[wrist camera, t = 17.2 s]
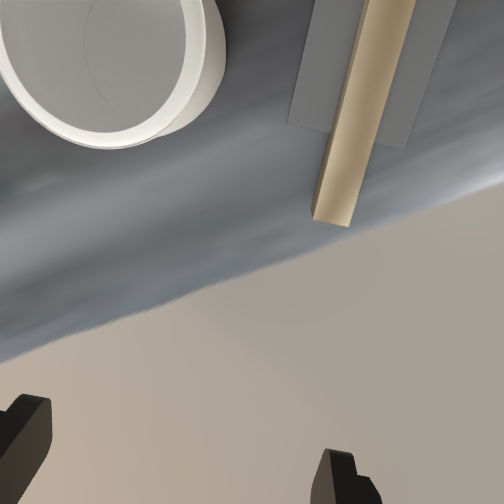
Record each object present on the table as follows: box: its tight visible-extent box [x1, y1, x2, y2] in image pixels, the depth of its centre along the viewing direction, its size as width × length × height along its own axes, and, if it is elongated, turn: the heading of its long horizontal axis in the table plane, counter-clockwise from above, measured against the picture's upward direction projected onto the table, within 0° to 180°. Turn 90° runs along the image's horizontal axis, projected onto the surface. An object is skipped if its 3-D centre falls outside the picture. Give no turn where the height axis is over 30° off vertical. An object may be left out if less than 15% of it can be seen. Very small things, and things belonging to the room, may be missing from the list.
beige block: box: [311, 0, 416, 227], centre depth 30 cm, size 3×20×3 cm, turn 170°
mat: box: [287, 0, 457, 150], centre depth 30 cm, size 10×16×1 cm, turn 168°
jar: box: [0, 0, 226, 149], centre depth 25 cm, size 11×10×15 cm
